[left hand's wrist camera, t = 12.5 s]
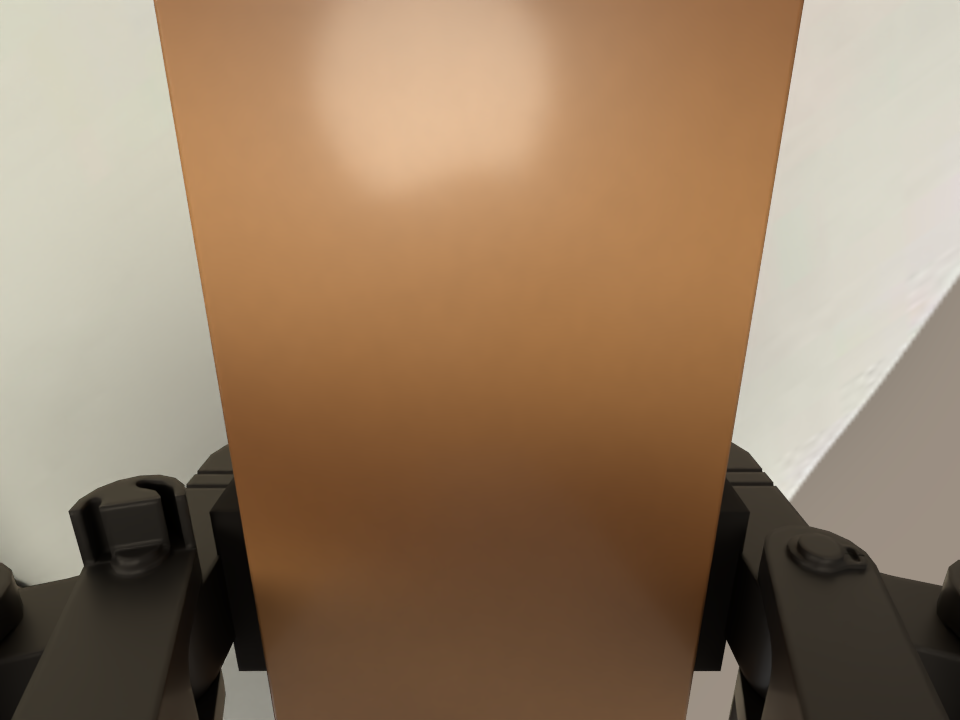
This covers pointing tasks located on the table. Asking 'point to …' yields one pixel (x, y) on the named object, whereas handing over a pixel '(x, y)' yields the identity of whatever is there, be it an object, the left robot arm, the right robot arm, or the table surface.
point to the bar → (479, 332)
